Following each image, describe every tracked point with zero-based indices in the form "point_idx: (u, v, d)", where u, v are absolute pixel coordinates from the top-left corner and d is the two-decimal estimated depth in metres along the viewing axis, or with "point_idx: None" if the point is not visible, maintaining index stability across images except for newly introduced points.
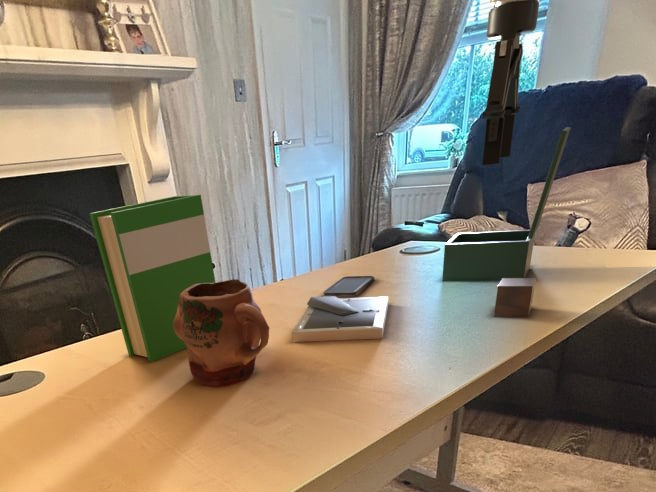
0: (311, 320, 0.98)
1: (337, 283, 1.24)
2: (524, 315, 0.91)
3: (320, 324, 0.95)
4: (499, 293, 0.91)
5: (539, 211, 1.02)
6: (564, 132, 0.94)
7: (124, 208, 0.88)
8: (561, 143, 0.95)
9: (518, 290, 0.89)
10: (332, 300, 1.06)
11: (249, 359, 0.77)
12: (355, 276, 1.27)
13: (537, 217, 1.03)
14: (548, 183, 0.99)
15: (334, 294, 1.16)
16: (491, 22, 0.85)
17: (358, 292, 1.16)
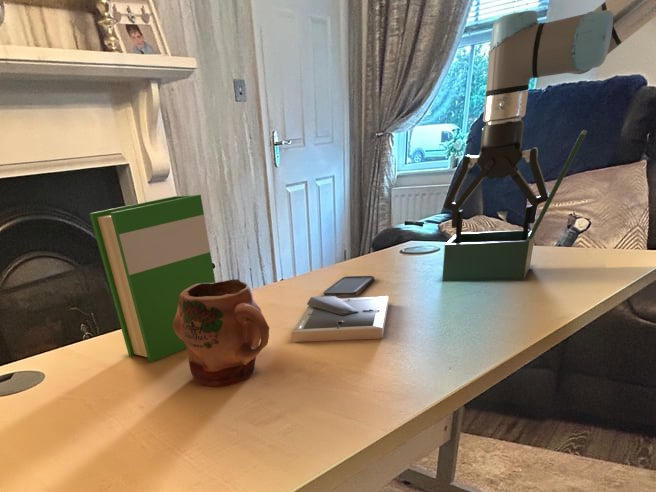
0: (311, 320, 0.98)
1: (337, 283, 1.24)
2: None
3: (320, 324, 0.95)
4: None
5: (543, 212, 1.02)
6: (582, 135, 0.94)
7: (124, 208, 0.88)
8: (577, 146, 0.95)
9: None
10: (332, 300, 1.06)
11: (249, 359, 0.77)
12: (355, 276, 1.27)
13: (540, 218, 1.03)
14: (557, 185, 0.99)
15: (334, 294, 1.16)
16: (513, 133, 1.00)
17: (358, 292, 1.16)
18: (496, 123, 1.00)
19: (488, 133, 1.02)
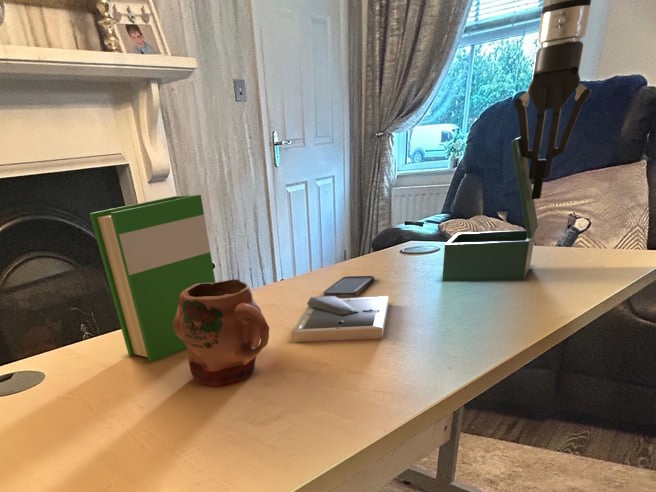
0: (311, 320, 0.98)
1: (337, 283, 1.24)
2: None
3: (320, 324, 0.95)
4: None
5: (526, 212, 1.03)
6: (514, 141, 0.98)
7: (124, 208, 0.88)
8: (516, 151, 0.99)
9: None
10: (332, 300, 1.06)
11: (249, 359, 0.77)
12: (355, 276, 1.27)
13: (527, 218, 1.04)
14: (522, 186, 1.01)
15: (334, 294, 1.16)
16: (571, 55, 0.91)
17: (358, 292, 1.16)
18: (553, 44, 0.91)
19: (543, 56, 0.92)
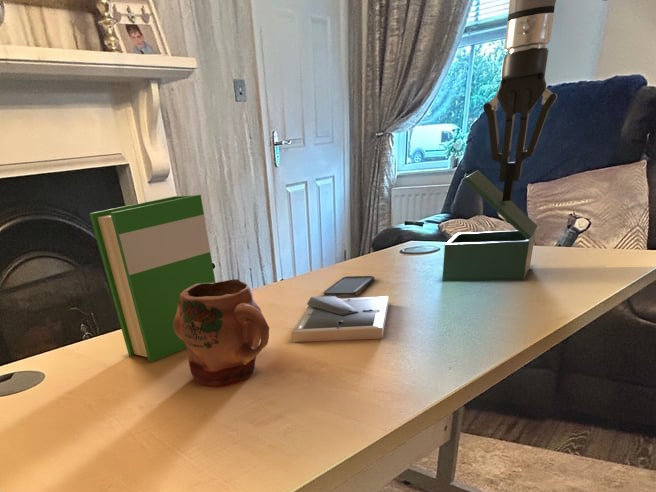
0: (311, 320, 0.98)
1: (337, 283, 1.24)
2: None
3: (320, 324, 0.95)
4: None
5: (512, 221, 1.05)
6: (466, 179, 1.05)
7: (124, 208, 0.88)
8: (472, 184, 1.05)
9: None
10: (332, 300, 1.06)
11: (249, 359, 0.77)
12: (355, 276, 1.27)
13: (516, 225, 1.05)
14: (495, 205, 1.05)
15: (334, 294, 1.16)
16: (537, 61, 0.93)
17: (358, 292, 1.16)
18: (519, 50, 0.94)
19: (510, 62, 0.95)
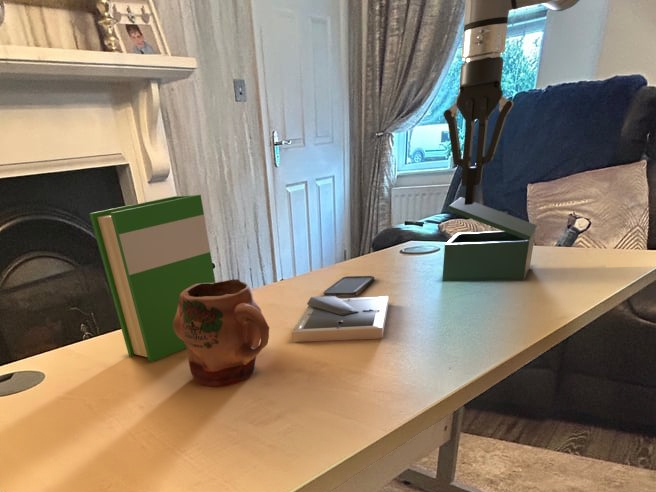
0: (311, 319, 0.98)
1: (337, 283, 1.24)
2: None
3: (320, 324, 0.95)
4: None
5: (507, 229, 1.06)
6: (449, 207, 1.09)
7: (124, 208, 0.88)
8: (457, 210, 1.08)
9: None
10: (332, 300, 1.06)
11: (249, 359, 0.77)
12: (355, 276, 1.27)
13: (512, 230, 1.06)
14: (485, 220, 1.07)
15: (334, 294, 1.16)
16: (492, 69, 0.97)
17: (358, 292, 1.16)
18: (474, 59, 0.97)
19: (466, 70, 0.98)
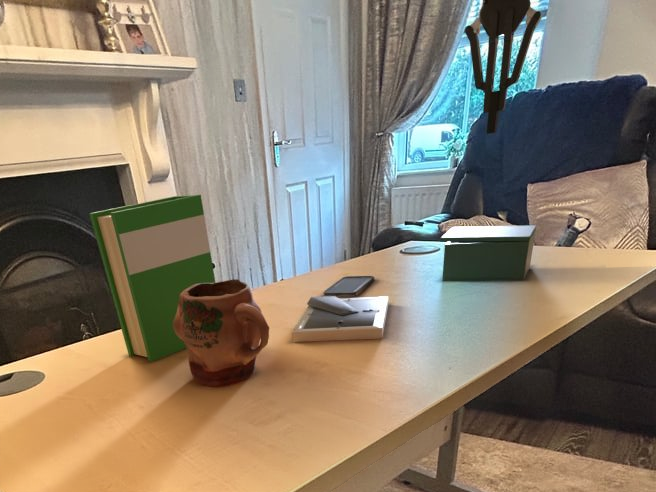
0: (311, 319, 0.98)
1: (337, 283, 1.24)
2: None
3: (320, 324, 0.95)
4: None
5: (504, 238, 1.07)
6: (441, 239, 1.13)
7: (124, 208, 0.88)
8: (449, 238, 1.12)
9: None
10: (332, 300, 1.06)
11: (249, 359, 0.77)
12: (355, 276, 1.27)
13: (509, 238, 1.07)
14: (480, 238, 1.09)
15: (334, 294, 1.16)
16: None
17: (358, 292, 1.16)
18: None
19: None
